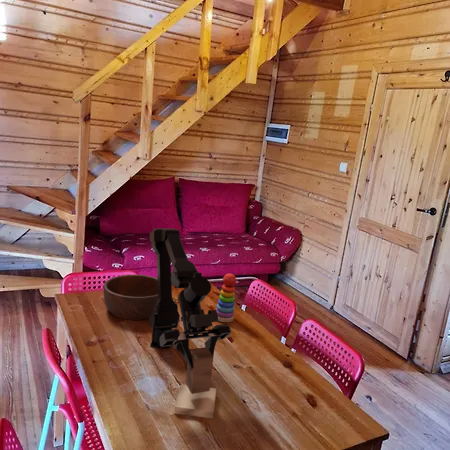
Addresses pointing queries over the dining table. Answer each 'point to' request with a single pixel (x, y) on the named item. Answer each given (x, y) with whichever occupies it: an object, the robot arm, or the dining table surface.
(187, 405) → the birch plinth
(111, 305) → the wooden bowl
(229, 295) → the stacking toy
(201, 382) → the walnut pillar
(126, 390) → the dining table surface
